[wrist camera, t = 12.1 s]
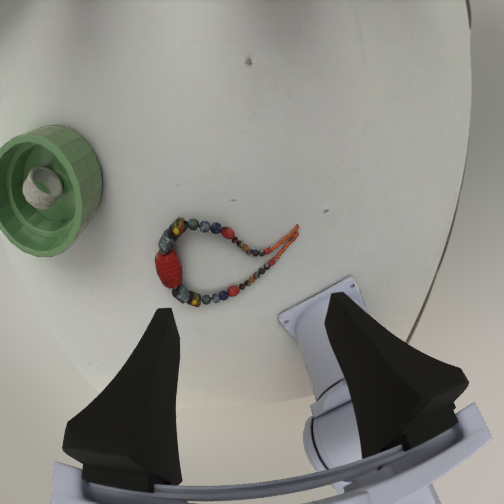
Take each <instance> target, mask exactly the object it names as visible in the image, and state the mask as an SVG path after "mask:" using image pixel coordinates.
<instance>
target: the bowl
mask: <svg viewBox="0 0 504 504" xmlns="http://www.w3.org/2000/svg"><path fill="white" fill-rule="evenodd" d="M36 166H44V167H48V168H49V169H51V170H53V171H54V172H55V173H56V174H57V175H58V176H59V178H60V180H61V182H62V185H63V191H62V193H61V195H60V197H59V198H57V201H56V202H55V203H54V205H53V207H52V208H49V209H45V210H42V209H39V208H35V207H34V206H32V205H31V204H30V203H29V202H28V201H27V200H26V198H25V196H24V194H23V192H22V191H23V184H24V181H25V180H26V179H27V177H28V175H29V172H30V171H31V169H32V168H34V167H36ZM50 173H52V172H50ZM55 177H56V176H55ZM33 182H34V183H35V184H36V185H37V187H38V188H39V189H40V190H42V191H43V192H45V193H47V194H51V192H50V190H49V189H48V188H47V187H46V186H45V185H44V184H43V183H41V182H38V181H33ZM101 192H102V179H101V169H100V166H99V163H98V160H97V158H96V155H95V152H94V150H93V149H92V148H91V146H90V145H89V144H88V142H87V141H86V140H85V138H84V137H83V136H81V135H80V134H78V133H77V132H75V131H74V130H72V129H71V128H69V127H65V126H60V125H50V126H45V127H41V128H38V129H35V130H32V131H30V132H27V133H24V134H21V135H19V136H16V137H14V138H12V139H11V140H10V141H8V142H7V143H6V144H5V145H3V146H2V147H1V149H0V229H1V231H2V232H3V233H4V235H5V236H6V237H7V238H8V240H9V241H10V242H11V243H12V244H14V245H15V246H16V247H18V248H19V249H20V250H22V251H23V252H25V253H28V254H31V255H33V256H36V257H52V256H55V255H57V254H60V253H63V252H64V251H65V250H66V249H67V248H68V247H69V246H70V245H71V244H72V243H73V242H74V241H75V240H76V238H77V237H78V236H79V234H80V233H81V232H82V230H83V229H84V228H85V226H86V225H87V224H88V223H89V221H90V220H91V219H92V217H93V215H94V214H95V212H96V210H97V208H98V206H99V203H100V197H101ZM31 202H32V201H31Z"/></svg>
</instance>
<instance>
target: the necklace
mask: <svg viewBox="0 0 504 504" xmlns="http://www.w3.org/2000/svg"><path fill="white" fill-rule="evenodd" d="M187 223H188V224H187ZM187 225H188V226H187ZM198 227H199V228H200V230H201V231H202V232H208V231H209V230H211V232H212V233H214V234H218V233H221V234H222V236H223V237H224V238H227V239H232V242H233V243H237V246H238V247H241V249H242V250H243V251H246V253H247V254H249V255H250V254H252V255H253V256H258V255H260V256H264V255H265V254H269V253H271V252H272V251H273V250H274V249H276V248H277V247H279V246H280V244H282V243H283V242H285V241H286V240H288V239H289V238H290V237H292V236H293V235H294V233H296V234H295V235H294V236H293V238H292V239H290V240H289V241H288V242H287V243H286V244H285V245H284V247H283V248H282V249H281V251H279V252H278V254H277V256H276V257H273V258H272V259H271V260H270V261H269V264H265V265H264V269H263V268H260V269H259V273H258V272H256V273H254V277H250V278H249V280H246V281H245V283H244V284H240V285H239V287H238V286H231V287H229V288H228V290H227V292H226V291H221V292H220V293H219V294H217V293H215V294H213V295H212V297H210V296H209V295H204V296H203V297H202V299H201V295H200V294H197V293H194V292H192V291H188V290H187V289H186V288H185V287H184V286H182V285H181V282H182V268H181V263H180V261H179V259H178V256H177V254H176V252H175V251H173V250H172V247H173V245H174V244H175V242H176V241H177V237H179V236H180V235H181V234H182V233H184V232H185V231H186V230H187V229H188V228H189V229H190V230H193V231H194V230H196V229H198ZM298 228H299V226H298V224H297V225H296V227H295V228H294V230H293V231H292V232H291V233H290V234H289V235H287V236H285V237H284V238H283V239H282V240H280V241H279V242H278V243H277V244H276V245H274V246H273V247H272V248H271V247H269V248H267V249H265V250H263V249H261V250H259V252H258V250H253V249H251V248H248V246H247V245H246V244H244V243H243V241H241V240H239V239H238V237H236V236H235V234H234V232H233V230H232V229H231V228H228V227H223V228H222V227H221V225H220V224H219V223H213V224H212V225H211V226H210V223H209V222H208V221H202V222H201V223H200V225H199V222H198V221H197V220H196V219H191V220H189V221H188V222H186V221H185V220H184V219H183V218H178V219H177V220H176V221H175V222H174V223H173V224H171V225H170V228H169V230H166V231H165V232H164V234H163V235H162V237H161V239H160V241H159V248H160V250H159V252H158V253H157V254H156V256H155V264H156V270H157V274H158V276H159V278H160V280H161V281H162V283H163V284H164V286H166V287H167V288H169V289H170V288H172V295H173V297H175V298H176V299H177V300H178V301H180V302H181V303H183V304H184V303H186V302H187V304H190V305H192V306H195V307H199V306H200V304H201V300H202V302H203V303H204V304H209V303H210V302H211V300H212V301H213V302H214V303H218V302H219V301H220V300H226V299H227V298H228V295H229V296H231V297H233V296H236V295H238V293H239V292H240V289H241V290H243V289H245V286H250V285H251V283H253V282H255V278H256V279H258V278H259V277H260V274H264V273H265V270H269V268H270V266H272V265H273V264H275V262H276V261H277V260H278V258H279V256H280V255H281V254H282V253H283V252H284V251H285V250H286V248H287V247H288V246H289V245H290V244H291V243H292V242H293V241H294V240H295V239H296V238H297V236H298V235H299V233H298V232H296V231H297V230H298ZM243 244H244V245H243Z"/></svg>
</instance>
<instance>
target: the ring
mask: <svg viewBox="0 0 504 504" xmlns="http://www.w3.org/2000/svg"><path fill="white" fill-rule="evenodd" d="M50 172H52V173H50ZM55 176H56V177H55ZM33 181H38V182H41V183H43V184H44V185H45V186H46V187H47V188H48V189H49V190H50V192H51V194H47V193H45V192H43V191H42V190H40V189H39V188H38V187H37V185H36V184H35V183H34V182H33ZM62 191H63V185H62V182H61V180H60V178H59V176H58V175H57V174H56V173H55V172H54V171H53V170H51V169H49V168H48V167H44V166H36V167H34V168H32V169H31V171H30V172H29V175H28V177H27V179H26V180H25V181H24V184H23V191H22V192H23V194H24V196H25V198H26V200H27V201H28V202H29V203H30V204H31V205H32V206H34V207H35V208H39V209H42V210H45V209H49V208H52V207H53V205H54V203H55V202H56V201H57V198H59V197H60V195H61V193H62ZM31 201H32V202H31Z"/></svg>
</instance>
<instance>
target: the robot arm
mask: <svg viewBox="0 0 504 504" xmlns="http://www.w3.org/2000/svg"><path fill="white" fill-rule="evenodd" d="M352 284H353V285H352ZM351 285H352V286H351ZM278 319H279V321H280V323H281V324H282V325H283V326H284V327H285V329H286V330H287V331H288V332H289V333H290V335H291V336H292V337H293V338H294V339H295V341H296V342H297V343H298V344H299V346H300V349H301V353H302V356H303V359H304V362H305V366H306V369H307V372H308V375H309V378H310V382H311V385H312V388H313V392H314V395H315V398H316V401H317V402H315V403H314V404H312V405H311V406H310V407H311V411H312V414H313V416H311V417H310V418H308V419H307V421H306V423H305V428H304V431H303V444H304V448H305V452H306V455H307V457H308V459H309V461H310V463H311V465H312V466H313V467H314V469H315V470H316V471H317V472H316V473H311V474H307V475H302V476H298V477H292V478H287V479H281V480H274V481H267V482H259V483H250V484H239V485H223V486H177V485H179V484H180V483H181V482H182V475H181V469H180V461H179V453H178V443H177V429H176V393H177V382H178V373H179V363H180V337H179V333H178V330H177V326H176V323H175V319H174V316H173V312H172V308H158V309H157V310H156V312H155V314H154V316H153V318H152V320H151V322H150V324H149V325H148V327H147V329H146V331H145V333H144V334H143V336H142V338H141V339H140V341H139V343H138V345H137V346H136V348H135V349H134V351H133V352H132V354H131V355H130V357H129V359H128V360H127V361H126V363H125V364H124V366H123V367H122V368H121V370H120V371H119V372H118V374H117V375H116V376H115V377H114V379H113V380H112V381H111V382H110V383H109V384H108V386H107V387H106V388H105V389H104V390H103V391H102V392H101V393H100V394H99V395H98V396H97V397H96V398H95V399H94V400H93V401H92V402H91V403H90V404H89V405H88V406H87V407H86V408H85V409H83V410H82V411H81V412H80V413H78V414H77V415H76V416H75V417H73V418H72V419H71V420H69V421H68V423H67V426H66V429H65V434H64V440H63V446H62V449H63V451H64V452H65V453H66V454H67V455H69V456H70V457H72V458H74V459H75V460H77V461H79V462H80V463H82V464H83V470H82V469H80V468H77V467H74V466H70V465H66V464H63V463H60V462H55V463H54V470H53V479H52V490H51V504H194V503H188V502H186V501H231V500H244V499H255V498H264V497H271V496H277V495H284V494H290V493H295V492H300V491H304V490H309V489H314V488H318V487H322V486H325V485H329V484H331V485H332V487H333V488H334V489H335V490H336V492H337V493H338V494H339V495H336V496H333V497H329V498H325V499H321V500H317V501H312V502H308V503H303V504H441V502H440V500H439V498H438V496H437V493H436V491H435V489H434V487H433V484H432V483H433V482H435V481H436V480H438V479H439V478H441V477H443V476H444V475H446V474H447V473H449V472H450V471H451V470H453V469H454V468H455V467H457V466H458V465H460V464H461V463H462V462H464V461H465V460H466V459H468V458H469V457H470V456H472V455H473V454H474V453H476V452H477V451H478V450H479V449H481V448H482V447H483V446H485V445H486V444H487V443H488V442H489V441H491V440H492V435H491V433H490V431H489V429H488V427H487V425H486V423H485V421H484V419H483V417H482V415H481V413H480V411H479V409H478V407H477V405H476V403H475V402H474V403H472V404H470V405H469V406H467V407H465V408H464V409H462V410H461V411H459V412H458V413H456V414H455V413H454V411H453V410H454V409H455V408H456V406H455V404H454V401H455V400H456V399H457V398H458V397H459V396H460V395H461V394H462V393H463V392H464V391H465V389H466V388H467V386H468V384H469V381H468V380H467V378H466V376H465V374H464V373H463V371H462V370H461V368H458V367H455V366H452V365H450V364H447V363H444V362H441V361H439V360H437V359H434V358H432V357H430V356H428V355H426V354H424V353H422V352H420V351H419V350H417V349H414V348H413V347H411V346H410V345H408V344H407V343H405V342H404V341H402V340H401V339H399V338H398V337H396V336H395V335H393V334H392V333H391V332H389V331H388V330H387V329H386V328H384V327H383V326H382V325H380V324H379V323H378V322H377V321H376V320H374V319H373V318H372V317H371V316H370V315H369V314H368V311H367V308H366V306H365V303H364V300H363V298H362V295H361V293H360V290H359V288H358V285H357V283H356V280H355V279H354V277H348V278H346V279H344V280H343V281H341V282H339V283H337V284H335V285H334V286H332V287H330V288H328V289H326V290H325V291H323V292H321V293H319V294H317V295H315V296H314V297H312V298H310V299H308V300H306V301H304V302H302V303H300V304H299V305H297V306H295V307H293V308H291V309H289V310H287V311H285V312H283V313H281V314H280V315H279V316H278ZM285 320H287V321H285Z"/></svg>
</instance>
